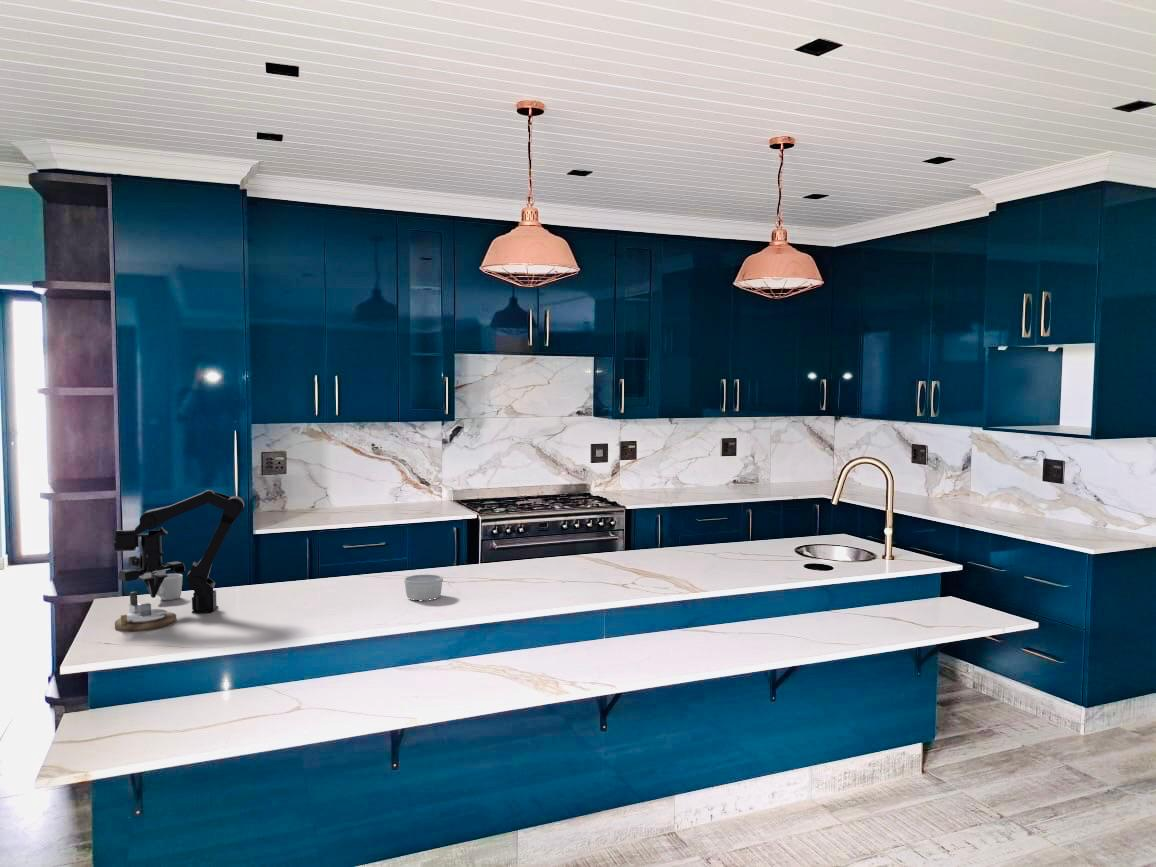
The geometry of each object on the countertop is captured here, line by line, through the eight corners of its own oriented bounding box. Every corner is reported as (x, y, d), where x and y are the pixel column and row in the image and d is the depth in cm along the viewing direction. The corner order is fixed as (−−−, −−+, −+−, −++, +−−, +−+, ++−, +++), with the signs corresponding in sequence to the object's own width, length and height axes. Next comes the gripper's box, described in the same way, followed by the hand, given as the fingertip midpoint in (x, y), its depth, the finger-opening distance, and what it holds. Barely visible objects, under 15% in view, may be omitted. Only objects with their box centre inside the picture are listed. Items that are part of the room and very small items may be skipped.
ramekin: (437, 591, 301) (436, 572, 301) (447, 600, 289) (447, 580, 289) (400, 595, 295) (400, 576, 295) (409, 604, 283) (409, 584, 283)
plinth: (184, 615, 270) (184, 601, 270) (163, 630, 253) (163, 615, 253) (129, 616, 269) (129, 603, 268) (104, 632, 252) (104, 617, 251)
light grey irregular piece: (174, 617, 262) (173, 595, 261) (133, 625, 252) (133, 603, 252) (152, 609, 272) (151, 588, 271) (112, 616, 262) (111, 595, 262)
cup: (167, 604, 284) (166, 580, 284) (146, 603, 286) (145, 579, 285) (188, 596, 295) (187, 574, 294) (168, 595, 296) (167, 573, 296)
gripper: (169, 542, 282) (171, 588, 283) (110, 550, 268) (112, 599, 269) (185, 546, 275) (186, 593, 276) (125, 555, 261) (126, 604, 261)
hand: (153, 597), depth 271 cm, fingers closed
